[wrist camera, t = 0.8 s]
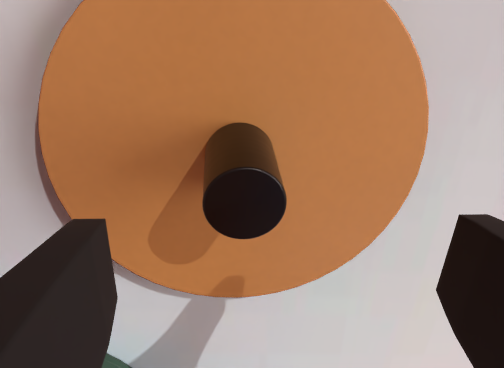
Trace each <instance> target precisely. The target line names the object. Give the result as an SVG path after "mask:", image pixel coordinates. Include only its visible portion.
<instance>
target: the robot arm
mask: <svg viewBox="0 0 504 368" xmlns="http://www.w3.org/2000/svg"><path fill="white" fill-rule="evenodd" d="M436 291H437V294H438V296H439V299H440V301H441V304H442V306H443V309H444V311H445V314H446V316H447V318H448V321H449V323H450V325H451V327H452V330H453V332H454V334H455V336H456V338H457V339H458V341H459V343H460V345H461V346H462V348H463V350H464V352H465V353H466V355H467V357H468V358H469V360H470V362H471V364H472V365H473V367H474V368H504V221H502V220H500V219H497V218H495V217H492V216H490V215H487V214H483V215H459V217H458V220H457V223H456V227H455V230H454V233H453V236H452V240H451V243H450V246H449V249H448V253H447V256H446V259H445V262H444V266H443V269H442V272H441V275H440V278H439V282H438V285H437V288H436ZM116 303H117V291H116V285H115V278H114V272H113V265H112V259H111V252H110V245H109V239H108V232H107V226H106V219H73V220H71V221H70V222H69V223H67V224H66V225H65V226H63V227H62V228H61V229H60V230H58V231H57V232H56V233H55V234H54V235H52V236H51V237H50V238H49V239H47V240H46V241H45V242H44V243H43V244H41V245H40V246H39V247H38V248H37V249H35V250H34V251H33V252H32V253H31V254H29V255H28V256H27V257H26V258H24V259H23V260H22V261H21V262H19V263H18V264H17V265H16V266H14V267H13V268H12V269H11V270H9V271H8V272H7V273H6V274H4V275H3V276H2V277H1V278H0V368H102V365H103V362H104V359H105V356H106V352H107V349H108V346H109V341H110V336H111V331H112V326H113V320H114V315H115V309H116Z"/></svg>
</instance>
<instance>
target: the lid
mask: <svg viewBox="0 0 504 368" xmlns="http://www.w3.org/2000/svg"><path fill="white" fill-rule="evenodd" d="M428 111H429V106H428V97H427V87H426V81H425V77H424V73H423V69H422V65H421V61H420V58H419V56H418V53H417V51H416V48H415V46H414V44H413V41H412V39H411V37H410V34H409V33H408V31H407V30H406V28H405V26H404V25H403V23H402V21H401V20H400V18H399V16H398V15H397V13H396V12H395V11H394V9H393V8H392V7H391V6H390V5H389V3H388V2H387V1H386V0H83V1H82V2H81V3H80V4H79V6H78V7H77V9H76V10H75V11H74V13H73V14H72V16H71V17H70V18H69V20H68V21H67V23H66V24H65V26H64V27H63V29H62V31H61V33H60V35H59V37H58V39H57V41H56V43H55V45H54V47H53V49H52V51H51V53H50V56H49V59H48V62H47V65H46V69H45V72H44V75H43V78H42V84H41V91H40V97H39V104H38V130H39V137H40V144H41V151H42V156H43V159H44V162H45V166H46V169H47V173H48V176H49V179H50V181H51V183H52V185H53V187H54V190H55V192H56V194H57V196H58V198H59V200H60V202H61V203H62V205H63V206H64V208H65V210H66V211H67V213H68V215H69V216H70V218H71V219H72V220H73V219H106V226H107V232H108V239H109V245H110V252H111V259H113V260H114V261H115V262H116V263H118V264H120V265H121V266H123V267H125V268H126V269H128V270H130V271H131V272H133V273H135V274H136V275H138V276H141V277H143V278H145V279H147V280H149V281H152V282H154V283H156V284H159V285H162V286H165V287H168V288H171V289H174V290H178V291H182V292H187V293H191V294H195V295H204V296H212V297H250V296H260V295H265V294H271V293H277V292H281V291H284V290H288V289H291V288H295V287H298V286H301V285H303V284H306V283H308V282H311V281H314V280H316V279H318V278H320V277H322V276H324V275H326V274H328V273H330V272H332V271H334V270H336V269H337V268H339V267H340V266H342V265H343V264H345V263H346V262H348V261H349V260H351V259H353V258H354V257H355V256H356V255H357V254H359V253H360V252H361V251H362V250H364V249H365V248H366V247H367V246H369V245H370V244H371V243H372V242H373V241H374V240H375V239H376V237H377V236H378V235H379V234H380V233H381V232H382V231H383V230H384V229H385V228H386V227H387V225H388V224H389V223H390V222H391V220H392V219H393V218H394V216H395V215H396V214H397V212H398V211H399V209H400V208H401V206H402V204H403V203H404V201H405V199H406V198H407V196H408V194H409V192H410V190H411V188H412V185H413V183H414V181H415V179H416V177H417V174H418V171H419V168H420V165H421V161H422V158H423V155H424V150H425V145H426V139H427V133H428Z"/></svg>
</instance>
